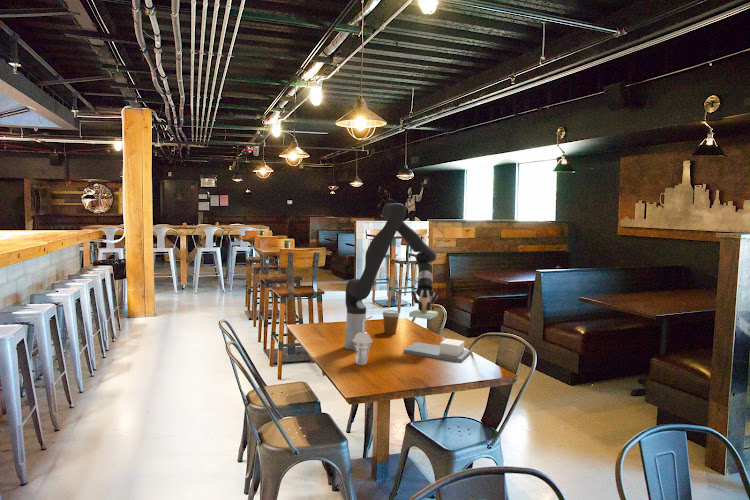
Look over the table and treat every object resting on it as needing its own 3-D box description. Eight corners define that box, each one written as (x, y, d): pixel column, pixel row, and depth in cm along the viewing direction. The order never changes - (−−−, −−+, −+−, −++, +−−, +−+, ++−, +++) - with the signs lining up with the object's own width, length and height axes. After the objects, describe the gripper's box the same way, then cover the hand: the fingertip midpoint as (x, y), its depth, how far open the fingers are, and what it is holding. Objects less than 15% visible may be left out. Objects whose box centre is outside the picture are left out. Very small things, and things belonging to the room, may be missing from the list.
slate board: (461, 362, 226) (461, 359, 225) (403, 352, 237) (403, 349, 237) (470, 353, 242) (470, 350, 242) (416, 344, 253) (416, 341, 253)
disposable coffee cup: (389, 330, 283) (390, 309, 282) (402, 333, 276) (403, 312, 276) (377, 332, 276) (378, 311, 276) (390, 335, 270) (391, 314, 269)
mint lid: (429, 319, 234) (431, 300, 233) (409, 316, 238) (410, 298, 238) (437, 315, 245) (438, 297, 245) (417, 312, 249) (418, 295, 249)
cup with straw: (348, 361, 218) (351, 315, 217) (367, 359, 222) (370, 315, 220) (355, 366, 210) (358, 319, 209) (375, 365, 214) (377, 319, 213)
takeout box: (457, 356, 230) (458, 345, 229) (439, 353, 233) (440, 342, 233) (463, 351, 240) (464, 341, 239) (445, 348, 243) (446, 338, 243)
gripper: (411, 276, 248) (409, 304, 237) (439, 278, 247) (439, 306, 236) (410, 285, 254) (409, 313, 243) (438, 287, 253) (438, 315, 242)
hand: (424, 310), depth 239 cm, fingers closed on mint lid, 3 cm apart
